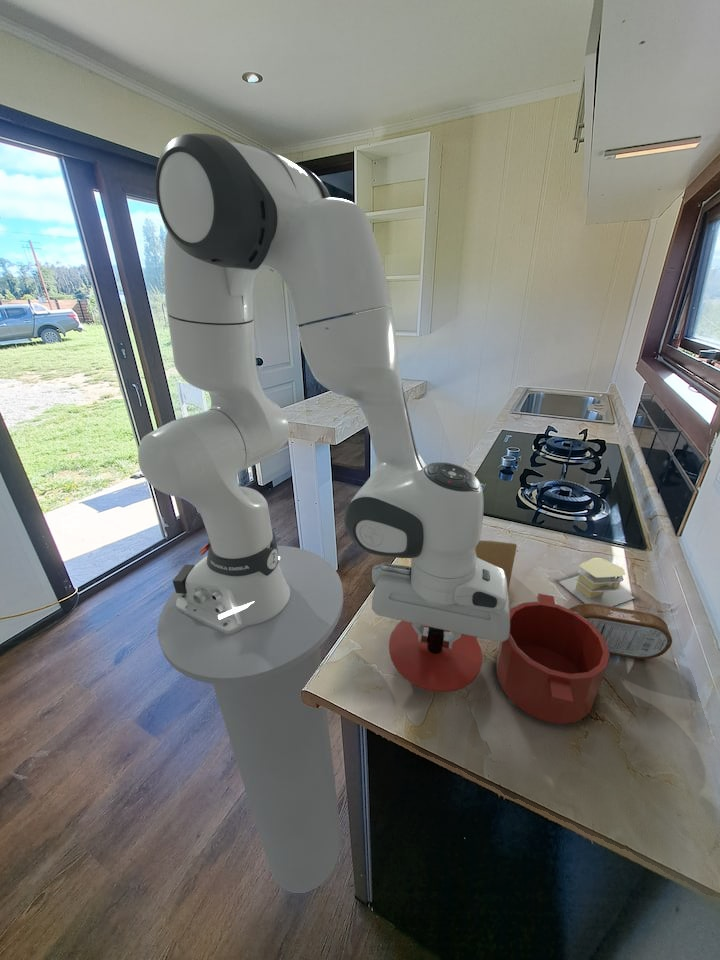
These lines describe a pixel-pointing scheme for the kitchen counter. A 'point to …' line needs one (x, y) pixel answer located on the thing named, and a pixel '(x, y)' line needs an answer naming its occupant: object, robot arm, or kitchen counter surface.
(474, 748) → the kitchen counter surface
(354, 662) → the kitchen counter surface
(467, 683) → the lid
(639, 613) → the tin
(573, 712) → the pot
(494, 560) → the sandwich container
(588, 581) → the stacked layers on plate
